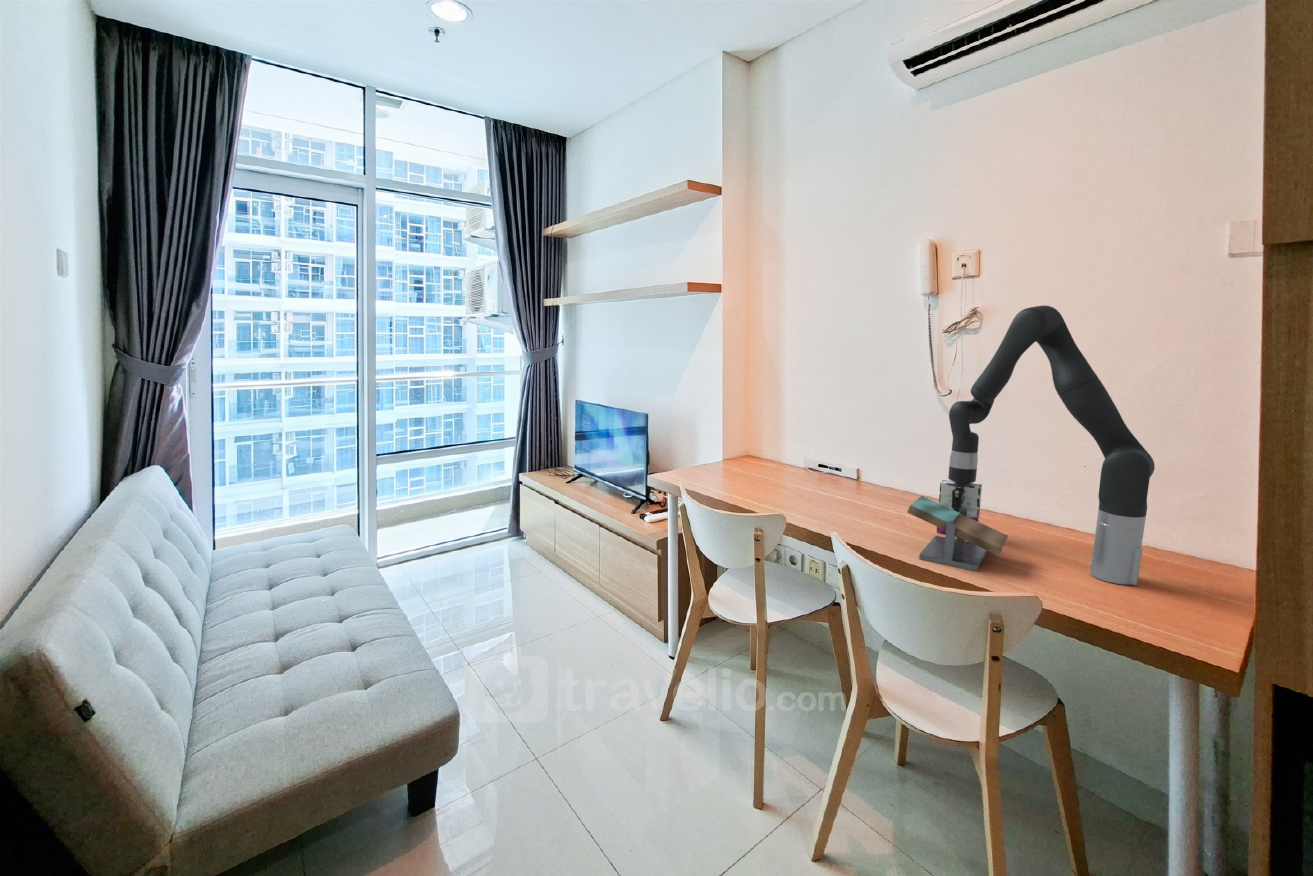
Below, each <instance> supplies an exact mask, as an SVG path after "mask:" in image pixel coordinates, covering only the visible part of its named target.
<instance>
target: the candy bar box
mask: <svg viewBox="0 0 1313 876" xmlns="http://www.w3.org/2000/svg"><path fill="white" fill-rule="evenodd" d="M955 485H956V482H955V481H951V480H946V479H945V480H942V481H941V482H940V484H939V494H938V495H939V498H938V503H939V504H941V505H943V506H945V507H948V508H950V509H952V510H953V508H952V507H951V506H952V491H953V490H955ZM982 489H983V484H981V483H974V482H973V483H966V484H965V485H964V491H963V495H965V502H964V503H963V506H962V507H964V508H968V518H971V519H973V520H975V521H977V522H979V523H980V514H981V513H980V511H981V501H982ZM962 499H963V496H962ZM955 505H959V502H956V503H955ZM937 532H939V533H938V534H942V533H944V534H943V535H946V531H945V530H943V529H941V528H939V527H937V526H936V533H937ZM955 537H957V536H956V535H955Z"/></svg>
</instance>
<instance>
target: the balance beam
mask: <svg viewBox="0 0 1313 876" xmlns="http://www.w3.org/2000/svg"><path fill="white" fill-rule="evenodd" d="M907 513H908V514H910V515H912V516H913V517H916V518H917V519H920V520H922V521H925V522H927V523H928V524H931V525H932V526H935V527H936V528H937V527H939V528H941V529H943V530H945V531H946V527H947V522H948V521H950V522H956V523H957V524H956V536H955V537H957V536H958V537H960V538H962V539H964V540H965V541H967V542H970V543H972V544H974V545H977V546H979V547H981V548H983V549H985V550H987V551H988V552H990V553H992V554H993V555H995V556H1000V554H1001V552H1002V550H1003V547H1004V545H1005V543H1006V542H1007V539H1008V538H1009V535H1007V534H1005V533H1004V532H1001V531H999V530H997V529H995V528H992V527H990V526H989V525H985V524H983V523H981V522H980V521H979V522H977V521H975V520H973V519H971V518H968V517H966V516H964V515H962V514H960V513H959V512H956V511H954V510H952V509H950V508H948V507H945V506H943V505H941V504H939V502H936V501H935V500H932V499H930V498H928V497H926V496H923V495H921V496H920V497H918V498H917V499H915V501H913V503H911V504H910V505H909V507H908V510H907Z"/></svg>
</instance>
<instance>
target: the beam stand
mask: <svg viewBox="0 0 1313 876" xmlns="http://www.w3.org/2000/svg"><path fill="white" fill-rule="evenodd" d="M959 513H960V514H962V515H964V516H966V517H968V508H964V507H960V508H959ZM956 524H957V523H956V522H950V521H948V522H947V527H946V534H945V536H940V535H935V536H933V538H932V539H931V540H930V541H929V542H928V544H927V545H925V547H924V549H922V551H920V553H919V555H918V556H919V557H918V560H922V561H926V562H931V563H935V564H941V565H945V566H949V567H954V568H958V569H964V570H968V571H971V572H972V571H973V572H978V570H979V568H980V566H981V564H982V563H983V561H984V559H985V557H986V556H987V554H988V552H989V551H987V550H985V549H983V548H981V547H979V546H977V545H974V544H972V543H970V542H968V541H966V540H964V539H962V538H960V537H958V536H955V535H956Z"/></svg>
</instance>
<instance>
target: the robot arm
mask: <svg viewBox="0 0 1313 876" xmlns="http://www.w3.org/2000/svg"><path fill="white" fill-rule="evenodd" d="M1035 342H1037V344H1038V345H1039V347H1040V349H1042V351H1043V352H1044V354H1045V355H1046V357H1047V359H1048V362H1049V365H1050V369H1051V376H1052V382H1053V386H1054V389H1055V391H1056V393H1057V395H1058V397H1059V398H1060V400H1061V401H1062V403H1063V404H1064V406H1065V408H1066V409H1067V411H1068V412H1069V414H1070V415H1071V416H1072V417H1073V418H1074V419H1075V420H1076V421H1077V422H1078V423H1079V425H1081V426H1082V428H1083V429H1085V430H1086V432H1088V433H1089V434H1090V435H1091V437H1092V438H1093V439H1094V441H1095V442H1096V444H1097V446H1098V447H1099V449H1100V451H1101V454H1102V455H1103V457H1104V460H1103V462H1102V466H1101V470H1100V476H1099V477H1100V479H1099V489H1098V511H1097V518H1096V526H1095V533H1094V541H1093V548H1092V556H1091V562H1090V570H1089V574H1090V575H1091V576H1092V577H1094V578H1096V579H1099V580H1101V581H1104V582H1107V583H1112V584H1117V585H1127V586H1129V585H1130V586H1138V581H1139V576H1140V574H1139V573H1140V567H1141V561H1142V554H1143V547H1142V546H1143V539H1144V534H1145V533H1144V532H1145V525H1146V518H1147V512H1148V494H1149V493H1148V492H1149V487H1150V486H1149V485H1150V479H1151V477H1152V476H1153V474H1154V472H1155V470H1156V469H1155V462H1154V459H1153V457H1152V456H1151V455H1150V453H1149V452H1148V451H1147V450H1146V449H1145V448H1144V446H1143V445H1142V444H1141V443H1140V442H1139V440H1138V439H1137V437H1135V436H1134V434H1133V432H1132V431H1131V430H1130V429H1129V427H1128V426H1127V424H1126V423H1125V421H1124V419H1123V417H1122V415H1121V413H1120V411H1119V409H1118V408H1117V406H1116V404H1115V403H1114V401H1113V399H1112V397H1111V396H1110V393H1109V392H1108V390H1107V389H1106V387H1105V386H1104V384H1103V383H1102V381H1101V379H1100V378H1099V377H1098V375H1097V374H1096V372H1095V371H1094V370H1093V368H1092V367H1091V365H1090V364H1089V362H1088V360H1087V359H1086V357H1085V356H1084V354H1083V353H1082V351H1081V350H1080V348H1079V347H1078V346H1077V343H1076V342H1075V340H1074V338H1073V336H1072V334H1071V331H1070V330H1069V328H1068V326H1067V324H1066V321H1065V320H1064V318H1063V316H1062V314H1061V313H1060V312H1059V310H1058V309H1056V308H1055V307H1053V306H1050V305H1037V306H1031V307H1028V308H1027V307H1026V308H1024V309H1022V310H1020V311H1019V312H1018V313H1017V314H1016V315H1015V316H1014V317H1013V319H1012V321H1011V323H1010V325H1009V327H1008V329H1007V331H1006V333H1005V335H1004V336H1003V339H1002V341H1001V342H1000V344H999V345H998V348H997V350H996V351H995V353H994V354H993V356H992V358H991V360H990V361H989V363H988V364H987V365H986V367H985V368H984V369H983V371H982V373H980V375H979V377H978V378H977V379H976V381H975V382H974V383H973V384H972V386H971V388H970V395H971V396H972V397H973V399H972V400H959V401H956V402H954V403H953V404H952V405H951V406H950V409H949V412H948V418H949V424H950V430H951V434H952V443H951V444H952V445H951V453H950V457H949V463H948V465H949V466H948V481H955V482H956V485H955V490H953V491H952V506H951V507H952V508H953V510H954V511H956V512H959V508H960V507H962V506H963V503H964V502H965V495H963V491H964V485H965V484H966V483H973V484H974V483H975V482H976V480H977V471H978V463H979V461H978V460H979V458H978V457H979V456H978V452H979V442H980V441H979V440H980V437H979V435H978V434H977V432H974V431H972V430H971V425H972V424H973V425H975V424H980V423H982V422H983V421H985V419H986V418H988V416H989V414H990V413H991V410H992V407H993V405H994V402H995V399H996V398H997V397H998V396H999V395H1000V393H1001V392H1002V391H1003V389H1004V388H1005V387H1006V385H1007V384H1008V383H1009V381H1010V379H1011V378H1012V375H1013V373H1014V370H1015V367H1016V365H1017V363H1018V361H1019V360H1020V358H1021V357H1022V355H1024V353H1025V352H1027V350H1028V349H1029V348H1030V347H1031V346H1032V345H1034V344H1035ZM962 496H963V499H962ZM956 502H959V505H955V503H956Z"/></svg>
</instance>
